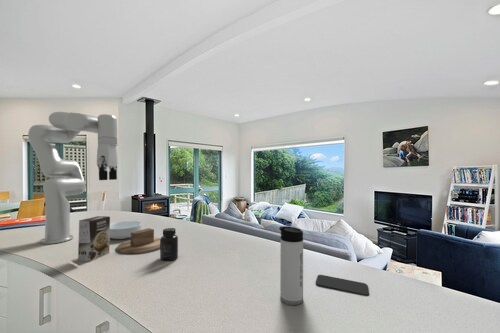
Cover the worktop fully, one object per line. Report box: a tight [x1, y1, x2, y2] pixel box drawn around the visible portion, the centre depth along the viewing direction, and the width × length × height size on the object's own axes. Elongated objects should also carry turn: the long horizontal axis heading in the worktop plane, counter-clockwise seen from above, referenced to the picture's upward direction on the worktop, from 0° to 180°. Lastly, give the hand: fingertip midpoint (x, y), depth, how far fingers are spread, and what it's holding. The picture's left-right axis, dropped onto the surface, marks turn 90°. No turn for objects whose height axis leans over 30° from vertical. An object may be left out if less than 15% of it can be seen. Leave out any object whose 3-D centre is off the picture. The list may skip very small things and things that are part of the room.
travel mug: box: [279, 225, 304, 306], centre depth 64 cm, size 6×7×20 cm
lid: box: [117, 227, 161, 255], centre depth 105 cm, size 20×20×7 cm
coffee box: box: [77, 215, 111, 262], centre depth 93 cm, size 9×6×16 cm
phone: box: [315, 274, 370, 297], centre depth 71 cm, size 7×1×15 cm
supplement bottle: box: [159, 227, 179, 263], centre depth 91 cm, size 7×7×12 cm
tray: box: [114, 246, 160, 256], centre depth 105 cm, size 22×22×1 cm
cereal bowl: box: [110, 220, 142, 240], centre depth 120 cm, size 17×17×7 cm
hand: (108, 179), depth 103 cm, fingers open, 9 cm apart
